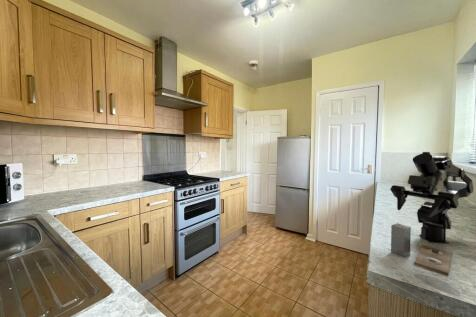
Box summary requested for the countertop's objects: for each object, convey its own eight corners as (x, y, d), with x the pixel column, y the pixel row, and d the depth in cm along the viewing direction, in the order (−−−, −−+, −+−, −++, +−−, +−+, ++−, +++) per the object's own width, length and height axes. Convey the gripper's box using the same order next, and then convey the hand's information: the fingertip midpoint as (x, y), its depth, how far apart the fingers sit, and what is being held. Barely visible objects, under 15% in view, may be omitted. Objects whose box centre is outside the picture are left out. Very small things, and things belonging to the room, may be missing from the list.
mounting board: (422, 246, 75) (422, 240, 75) (451, 254, 69) (452, 247, 69) (414, 264, 64) (414, 257, 64) (448, 275, 58) (448, 267, 58)
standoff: (397, 249, 73) (397, 223, 73) (410, 254, 69) (410, 227, 69) (390, 252, 71) (391, 225, 71) (403, 257, 68) (404, 229, 67)
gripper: (393, 166, 83) (376, 194, 79) (456, 169, 66) (439, 206, 62) (402, 182, 86) (387, 211, 82) (465, 190, 70) (450, 226, 65)
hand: (412, 213), depth 73 cm, fingers open, 9 cm apart
